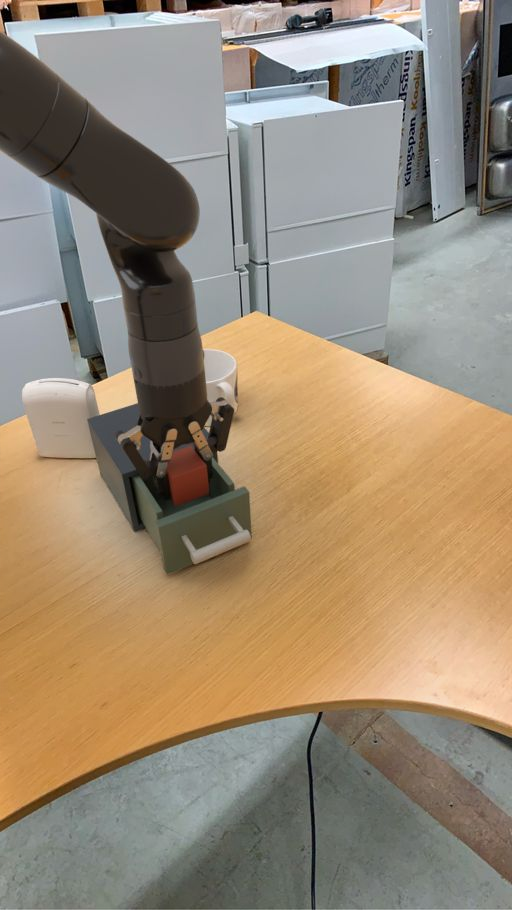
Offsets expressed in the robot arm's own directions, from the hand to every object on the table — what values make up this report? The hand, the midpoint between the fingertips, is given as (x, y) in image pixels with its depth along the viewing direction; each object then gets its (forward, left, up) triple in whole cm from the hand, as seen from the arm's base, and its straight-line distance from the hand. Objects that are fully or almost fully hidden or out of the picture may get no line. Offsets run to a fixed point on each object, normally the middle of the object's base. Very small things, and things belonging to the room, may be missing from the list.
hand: (184, 487), depth 79 cm
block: (0, 0, 0) cm, 0 cm away
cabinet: (0, +11, -7) cm, 13 cm away
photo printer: (-8, +25, -8) cm, 27 cm away
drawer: (0, -2, -7) cm, 7 cm away
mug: (+14, +23, -8) cm, 28 cm away
